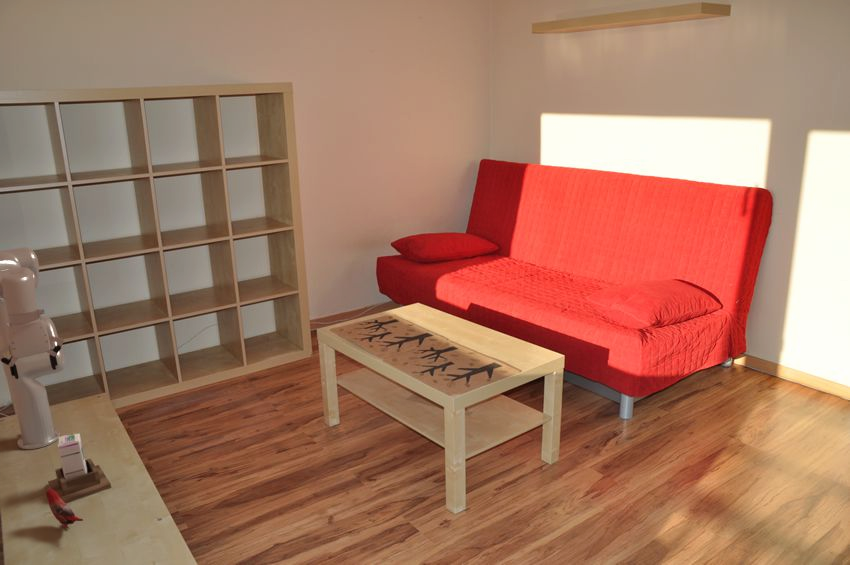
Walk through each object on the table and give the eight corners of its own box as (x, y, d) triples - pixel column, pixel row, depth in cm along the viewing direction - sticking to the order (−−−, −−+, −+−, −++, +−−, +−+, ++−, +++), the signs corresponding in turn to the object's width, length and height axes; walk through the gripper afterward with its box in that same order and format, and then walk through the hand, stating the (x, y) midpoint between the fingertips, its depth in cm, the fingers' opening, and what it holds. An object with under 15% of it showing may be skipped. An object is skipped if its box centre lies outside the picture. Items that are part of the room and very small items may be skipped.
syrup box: (88, 484, 198) (80, 439, 194) (66, 490, 195) (56, 445, 191) (88, 475, 203) (80, 431, 199) (66, 480, 200) (57, 436, 196)
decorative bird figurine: (57, 516, 185) (50, 483, 183) (92, 538, 175) (85, 504, 173) (46, 521, 183) (39, 488, 180) (81, 544, 173) (74, 509, 170)
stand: (48, 485, 201) (45, 469, 199) (99, 468, 209) (96, 453, 207) (58, 506, 190) (54, 489, 189) (111, 487, 198) (108, 471, 197)
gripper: (55, 307, 201) (65, 361, 205) (-14, 320, 190) (-1, 377, 195) (60, 313, 195) (70, 368, 199) (-10, 327, 185) (3, 385, 189)
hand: (35, 372), depth 197 cm, fingers open, 9 cm apart
